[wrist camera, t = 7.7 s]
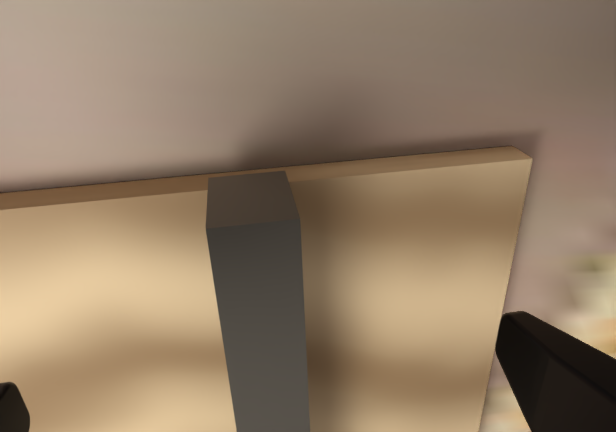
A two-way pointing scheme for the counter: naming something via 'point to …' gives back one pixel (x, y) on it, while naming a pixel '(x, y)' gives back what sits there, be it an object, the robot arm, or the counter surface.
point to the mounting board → (316, 282)
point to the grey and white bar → (260, 298)
